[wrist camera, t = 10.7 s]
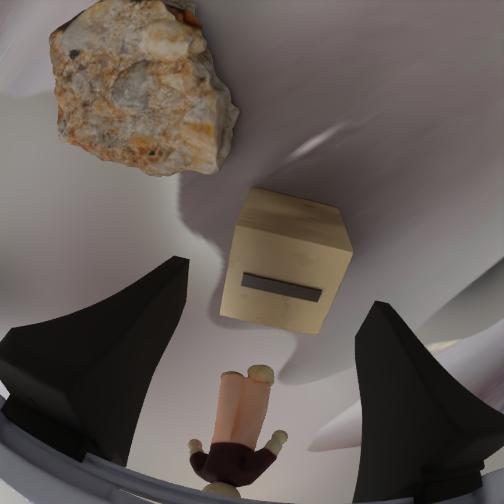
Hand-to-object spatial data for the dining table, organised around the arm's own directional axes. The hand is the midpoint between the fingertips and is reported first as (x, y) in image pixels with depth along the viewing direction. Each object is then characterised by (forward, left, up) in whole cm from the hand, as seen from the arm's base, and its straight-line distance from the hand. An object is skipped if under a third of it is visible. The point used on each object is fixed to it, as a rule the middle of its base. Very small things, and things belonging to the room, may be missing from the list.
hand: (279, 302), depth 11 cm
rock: (+8, -7, -6) cm, 12 cm away
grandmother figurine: (0, +13, -6) cm, 14 cm away
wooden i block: (0, 0, -6) cm, 6 cm away
